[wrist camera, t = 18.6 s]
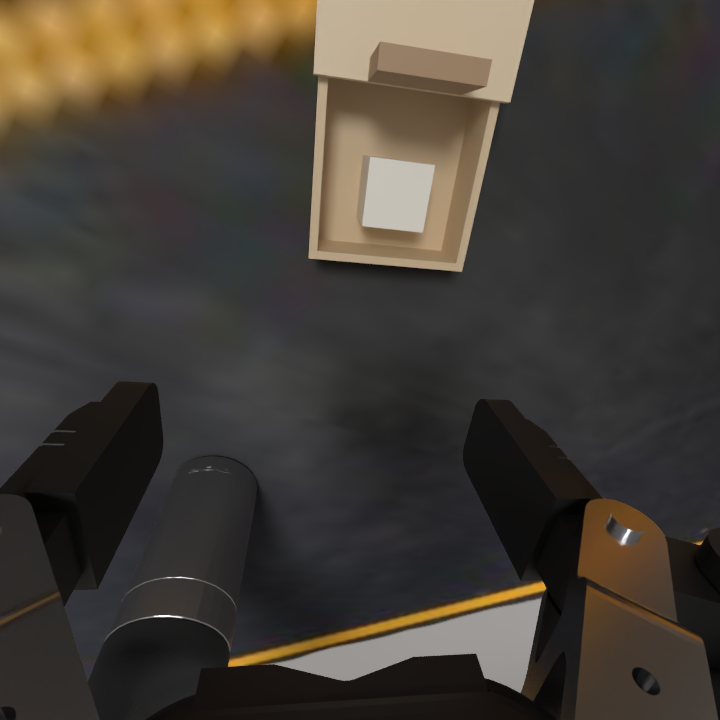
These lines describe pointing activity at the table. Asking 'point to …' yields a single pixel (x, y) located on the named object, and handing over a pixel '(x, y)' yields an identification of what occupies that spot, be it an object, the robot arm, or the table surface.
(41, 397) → the table surface
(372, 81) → the lid
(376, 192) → the block
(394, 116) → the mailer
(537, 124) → the table surface
